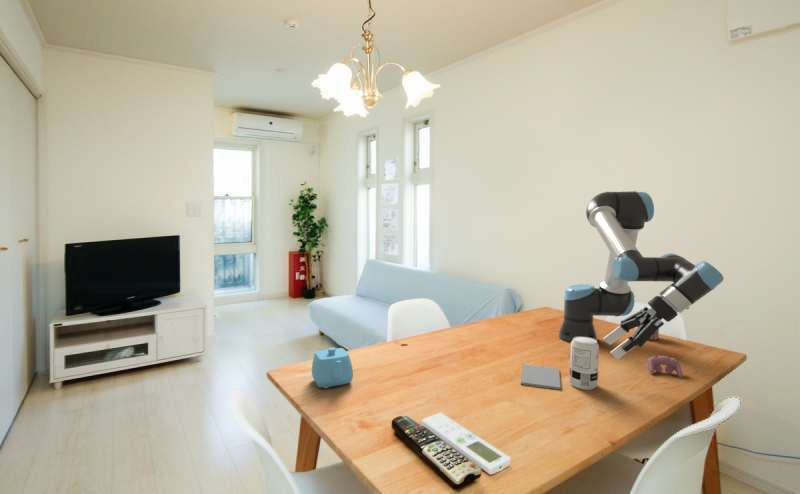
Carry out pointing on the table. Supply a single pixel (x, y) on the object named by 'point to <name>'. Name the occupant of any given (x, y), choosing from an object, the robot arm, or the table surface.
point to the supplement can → (584, 363)
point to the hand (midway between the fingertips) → (609, 348)
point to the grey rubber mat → (540, 376)
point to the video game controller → (671, 364)
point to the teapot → (332, 367)
